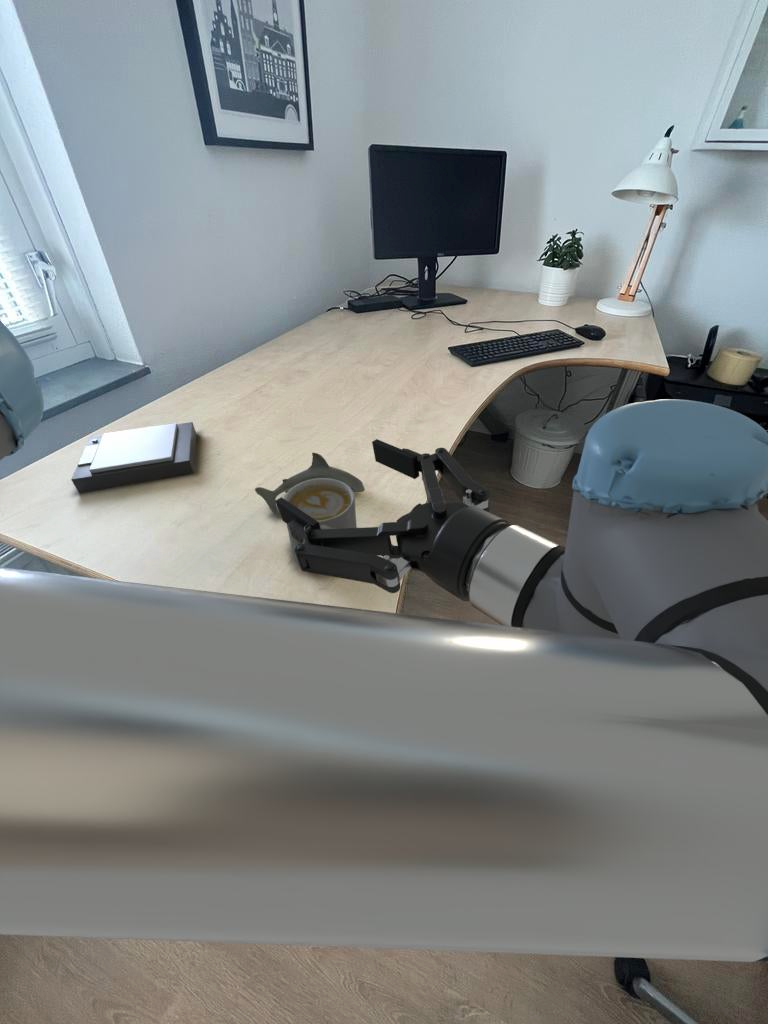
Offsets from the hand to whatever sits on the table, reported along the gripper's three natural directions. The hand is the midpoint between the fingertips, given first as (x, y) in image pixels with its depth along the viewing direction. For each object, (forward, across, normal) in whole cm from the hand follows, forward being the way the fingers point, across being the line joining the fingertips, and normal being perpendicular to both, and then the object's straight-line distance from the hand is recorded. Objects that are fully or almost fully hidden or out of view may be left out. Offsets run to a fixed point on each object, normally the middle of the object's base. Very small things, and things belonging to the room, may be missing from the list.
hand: (331, 477), depth 48 cm
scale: (+56, -9, -13) cm, 58 cm away
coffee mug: (+8, 0, -19) cm, 20 cm away
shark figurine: (+22, +9, -18) cm, 30 cm away
